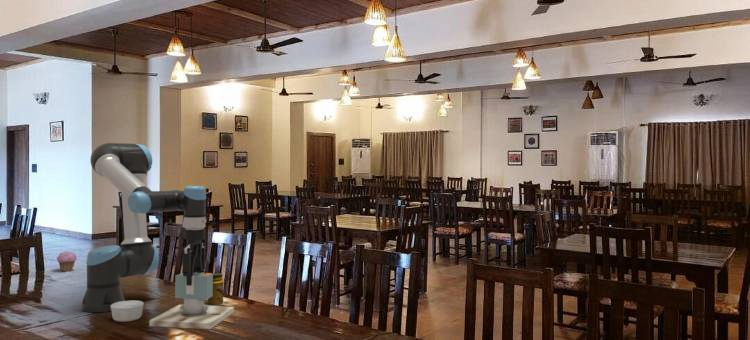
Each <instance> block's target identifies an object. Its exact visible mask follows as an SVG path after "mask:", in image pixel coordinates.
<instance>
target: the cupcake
mask: <svg viewBox="0 0 750 340" xmlns="http://www.w3.org/2000/svg"><path fill="white" fill-rule="evenodd" d="M56 261H57V262H58V265H59V269H60V271H61V272H64V273H67V272H66V271H68V272H71V271H73V268H74V266H75V262H76V261H77V255H76V254H75V252H72V251H64V252H59V255H58V256H57V257H56Z"/></svg>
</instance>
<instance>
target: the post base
mask: <svg viewBox="0 0 750 340" xmlns="http://www.w3.org/2000/svg"><path fill="white" fill-rule="evenodd" d="M181 305H182V304H178V305H175V306H174V307H172V308H170V309H168V310H167V311H165V312H163V313H161V314H158V315H157V316H155V317H153V318H151V319H149V325H148V326H149V327H154V328H155V327H159V328H160V327H161V328H175V329H176V328H178V329H196V330H197V329H200V330H212V329H213V328H214V327H216V326H217V325H219V324H220V323H221V322H222V321H224V320H226V319H227V318H228V317H230V316H231V315H233V314H234V313H235V306H223V305H217V306H204V307H208V310H207V311H205V310H204V312H203V313H200V314H185V313H184V309H180V306H181Z"/></svg>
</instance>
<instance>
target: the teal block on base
mask: <svg viewBox="0 0 750 340" xmlns="http://www.w3.org/2000/svg"><path fill="white" fill-rule="evenodd" d="M193 276H194V294H193V295H192V294H186V276H183V272H181V273H179V274H175V276H174V277H175V278H174V280H175V281H174V283H175V284H174V298H175V299H183V304H180V305H181V306H180V309H184V313H185V314H200V313H203V312H204V310H205V311H207V310H208V307H204V302H205V300H208V298H210V297H212V296H213V274H212V272H206V273H202V274H194V273H193Z"/></svg>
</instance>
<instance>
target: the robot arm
mask: <svg viewBox="0 0 750 340" xmlns="http://www.w3.org/2000/svg"><path fill="white" fill-rule="evenodd" d="M90 165H91V168H92V169H93V171H94V172H96V174H98V176H100V177H104V178H106V179H107V180H108V181H109V182H110V183H111V184H112V185H113V186H114V187H115V188H116V189H117V190H118V191H119V192H120V193H121V203H122V216H123V218H122V219H123V220H122V221H123V233H124V239H123V241H122V242H121V243H120V245H116V244H114V245H111V244H110V245H104V246H100V247H96V248H92V249H91V250H90V251H89V252H88V253H87V257H86V290H85V293H84V296H83V299H82V302H81V311H83V312H87V313H104V312H106V313H107V312H112V311H111V308H110V307H111V305H112V304H114V303H116V302H121V301H126V300H125V298H124V297H125V296H124V294H123V291H122V288H121V279H124V278H130V277H134V276H135V277H136V276H144V275H147V274H150V273H152V272H154V271H155V269H157V266H158V264H159V261H160V260H159V258H160V254H159V250H158V248H157V246H156V245H155V244H152V243H153V242H152V240H151V239H150V238H149V236H148V230H147V229H148V227H147V225H148V224H147V213H159V212H160V213H161V212H175V211H178V212H180V211H181V212H183V228H184V230H183V239H184V240H185V241H187V242H186V247H182V273H183V276H186V294H192V295H193V294H194V276H193V274H205V272H206V248H207V244H206V242H204V243H203V240H205V239H206V232H207V231H206V229H205V228H206V223H207V219H206V213H207V209H206V207H207V193H206V192H207V189H206V187H205V186H202V185H188V186H187V185H186V186H185V187H184V189H183V190H179V189H171V190H153V191H152V190H151V189H150V188H149V187H148V186H147V185H146V184H145V181H144V179H146V177H147V176H148V172H149V171H150V170H151V169H152V165H153V157H152V153H151V151H150V150H149V148H148V147H147V146H145V145H144V144H142V143H141V144H140V143H139V144H138V143H134V142H133V143H120V142H119V143H118V142H105V143H103V144H100V145H98V146H97V147H96V148H94V150H93V151H92V153H91V155H90ZM194 270H195V272H194Z"/></svg>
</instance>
